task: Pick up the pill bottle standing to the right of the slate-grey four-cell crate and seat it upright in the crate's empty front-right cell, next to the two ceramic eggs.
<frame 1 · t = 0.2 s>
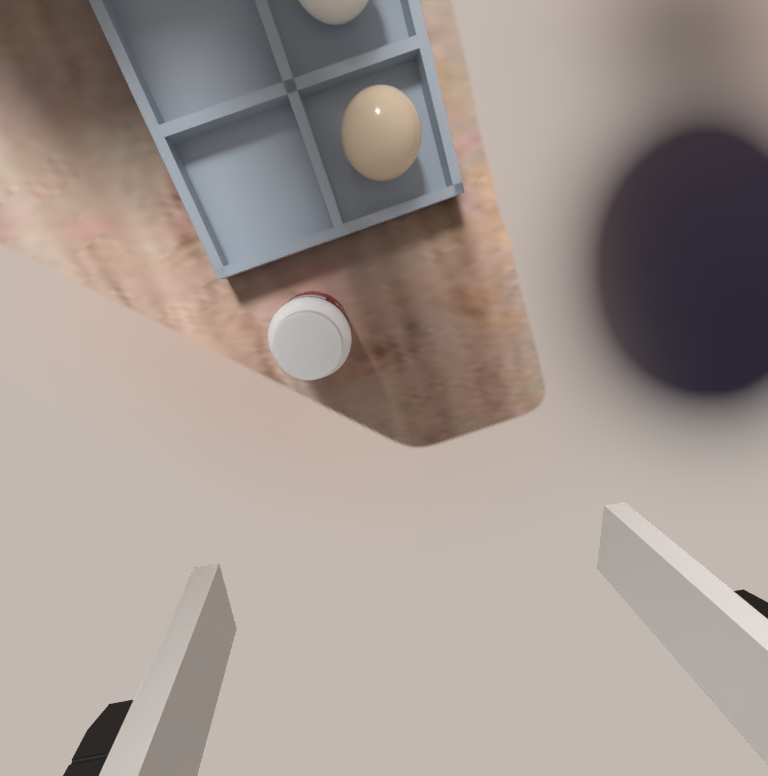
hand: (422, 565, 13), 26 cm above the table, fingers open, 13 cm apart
pill bottle: (315, 323, 37), on the table
egg brown: (377, 146, 32), point 1 cm above the table, touching carton
carton: (293, 100, 31), on the table
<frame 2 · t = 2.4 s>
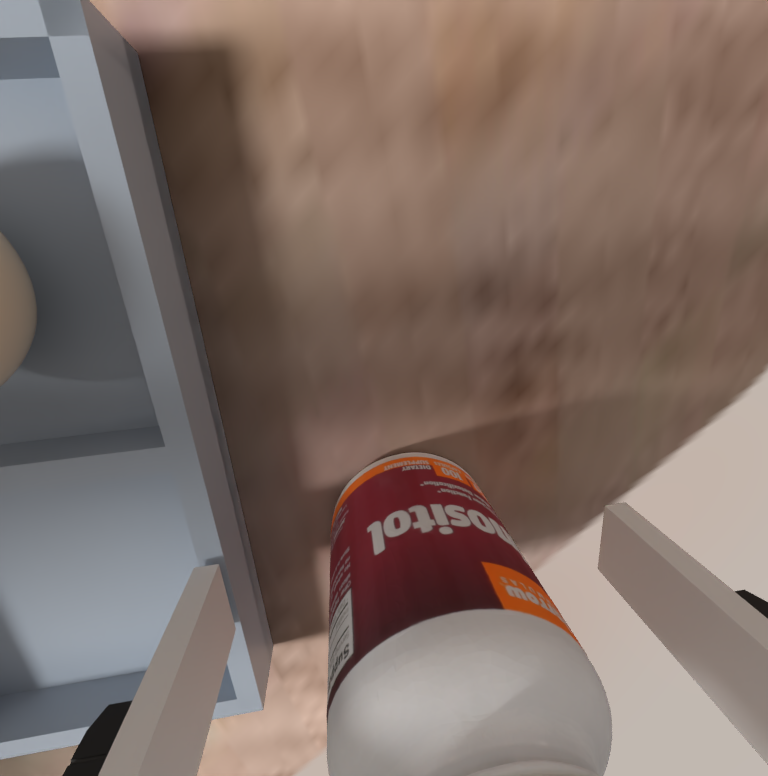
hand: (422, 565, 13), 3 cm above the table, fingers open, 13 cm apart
pill bottle: (405, 511, 16), on the table
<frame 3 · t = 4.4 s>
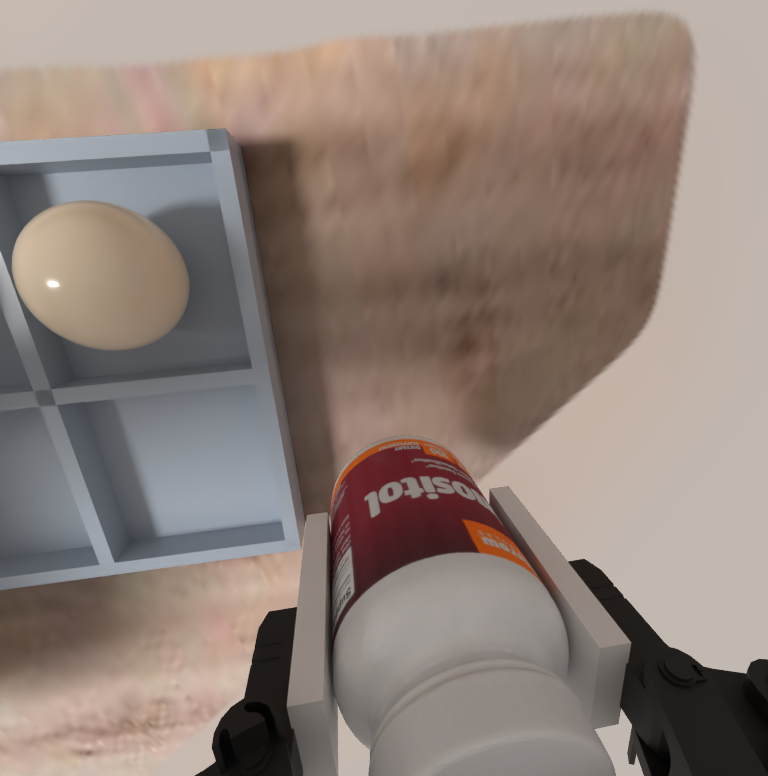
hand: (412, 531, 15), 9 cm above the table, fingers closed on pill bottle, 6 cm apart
pill bottle: (398, 490, 18), point 7 cm above the table, touching gripper
egg brown: (144, 276, 19), point 1 cm above the table, touching carton
carton: (79, 382, 21), on the table
when the fingers open (4 cm above the table, at t = 9.4 s): pill bottle stays where it is, resting on carton.
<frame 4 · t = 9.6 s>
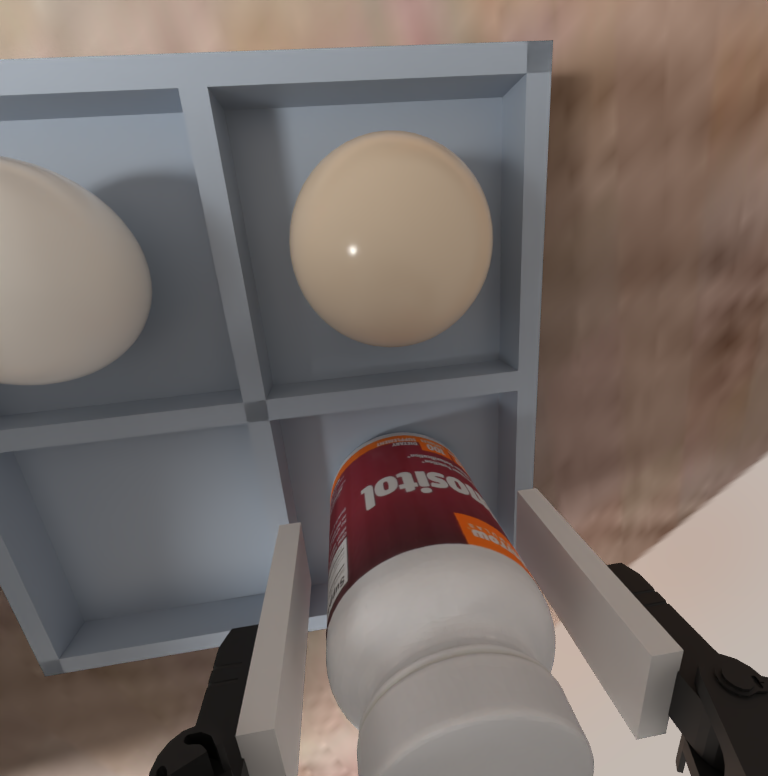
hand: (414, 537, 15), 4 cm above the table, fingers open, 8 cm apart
pill bottle: (396, 486, 18), point 1 cm above the table, touching carton
egg brown: (379, 251, 15), point 1 cm above the table, touching carton
carton: (268, 389, 17), on the table
egg white: (90, 275, 14), point 1 cm above the table, touching carton
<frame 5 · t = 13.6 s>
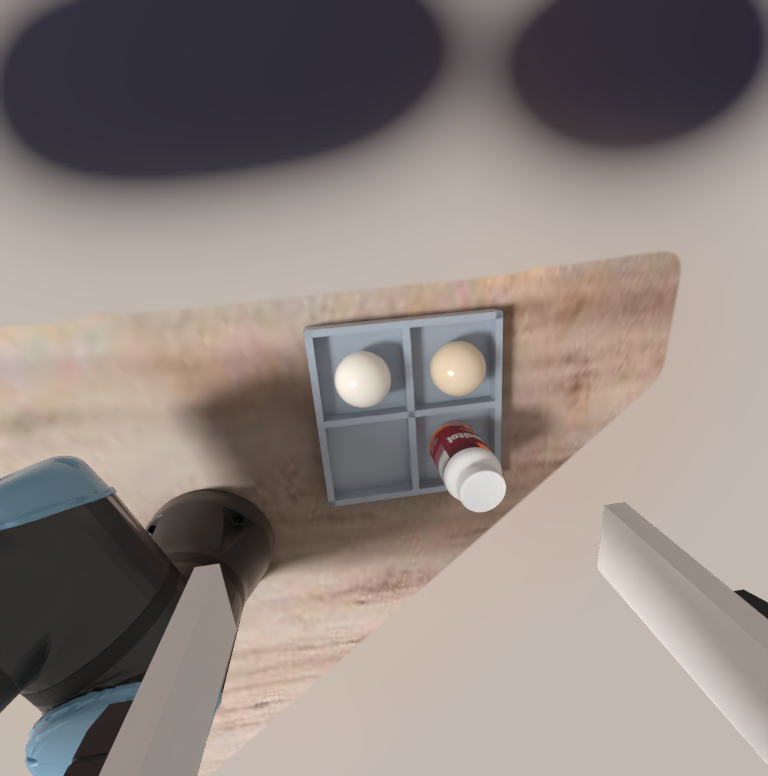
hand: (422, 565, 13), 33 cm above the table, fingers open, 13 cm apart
pill bottle: (451, 442, 48), point 1 cm above the table, touching carton
egg brown: (449, 362, 45), point 1 cm above the table, touching carton
carton: (407, 406, 47), on the table
egg white: (361, 372, 44), point 1 cm above the table, touching carton
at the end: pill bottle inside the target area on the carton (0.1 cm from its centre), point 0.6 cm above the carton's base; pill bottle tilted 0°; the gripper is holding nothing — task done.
